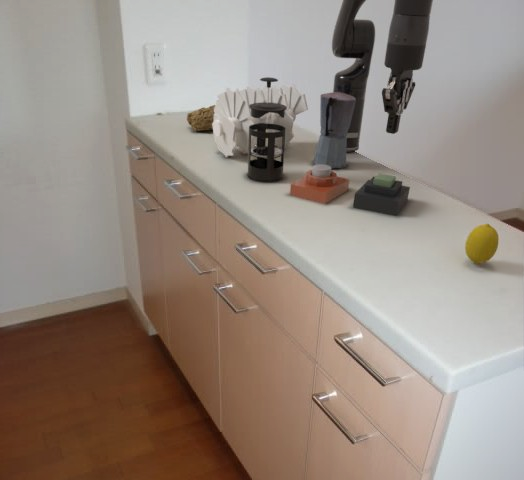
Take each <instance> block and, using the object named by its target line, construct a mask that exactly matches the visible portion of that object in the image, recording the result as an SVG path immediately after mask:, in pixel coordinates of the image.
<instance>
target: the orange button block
mask: <svg viewBox="0 0 524 480" xmlns="http://www.w3.org/2000/svg"><path fill="white" fill-rule="evenodd" d="M349 185H350V179H349V178H345V177H341V176H338V175H337V173H336V172H334V171H333V170H331V176H330V177H326V178H321V177H315V176H313V175H312V169H309V170H307V171H306V172H305V176H304V177H302V178H300V179H298V180H296V181H294V182H292V183H290V190H289V195H290V196H292V197H297V198H300V199H303V200H304V199H305V200H308V201H310V202H311V201H312V202H316V203H319V204H324V205H326V204H328V203H330V202H332V201H333V200H334V199H336V198H338V197H339V196H341V195H343V194H345V193H346V192H348V191H349Z"/></svg>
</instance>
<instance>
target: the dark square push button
mask: <svg viewBox="0 0 524 480" xmlns="http://www.w3.org/2000/svg"><path fill="white" fill-rule="evenodd" d="M375 177H376V176H372V177H371V178H370V179H367V180H366V182H365V183H364V184H363V185H362V186H360V187H359V189H358V190H356V192H355V193H354V197H353V204H352V208H353V209H356V210H363V211H366V212H367V211H368V212H373V213H378V214H384V215H388V216H394V217H397V216H398V214H399V213H400V212H401V210H402V209H403V208H404V206H405V205H406V204H407V202H408V200H409V194H410V189H411V186H407V185H403V181H402V180H397V179H395V184H394V185H393V186H392V187H391V188H390V187H384V186H378V185H373V182H374V178H375Z"/></svg>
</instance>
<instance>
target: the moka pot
mask: <svg viewBox="0 0 524 480" xmlns="http://www.w3.org/2000/svg"><path fill="white" fill-rule="evenodd" d="M342 88H343V86H342V85H337V92H333V91H332V92H325V93H321V94H320V106H319V107H320V114H319V115H320V120H319V122H320V131H319V132H320V134H319V137H318V142H317V145H316V150H315V152H314V157H313V164H314V165H317V164H324V165H328V166H330V167H331V169H343V168H346V166H347V152H346V148H347V138H346V136H347V132H348V129H349V127H350V123H351V119H352V115H353V111H354V107H355V103H356V99H355V97H353V96H351V95H348V94H345V93H342V92H341V91H342Z"/></svg>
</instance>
